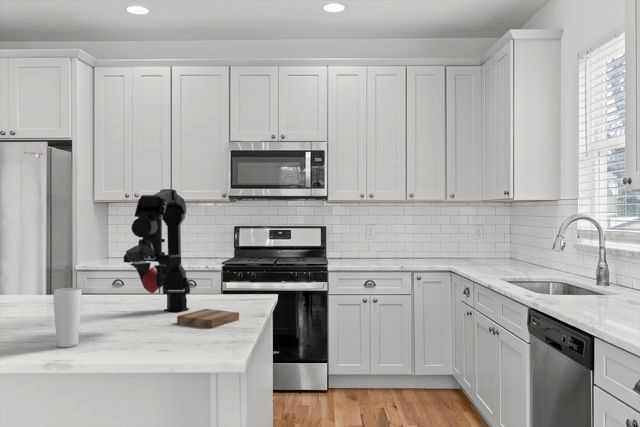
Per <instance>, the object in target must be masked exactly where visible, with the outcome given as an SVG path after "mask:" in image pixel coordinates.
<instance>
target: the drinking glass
mask: <svg viewBox="0 0 640 427" xmlns="http://www.w3.org/2000/svg"><path fill="white" fill-rule="evenodd" d="M82 296H83V295H82V288H80V287H65V288H64V287H63V288H57V289H54V290H53V300H52V302H53V315H54V324H55V336H56V337H55V338H56V341H55V342H56V346H57V347H58V348H61V349H62V348H72V347H75V346H77V345H78V344H79V342H80V327H81V315H82V314H81V313H82V305H83V304H82V302H83V300H82V298H83V297H82Z"/></svg>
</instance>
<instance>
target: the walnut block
mask: <svg viewBox="0 0 640 427" xmlns="http://www.w3.org/2000/svg"><path fill="white" fill-rule="evenodd" d="M176 316H177V317H176V320H177V321H176V324H177V325H182V326H183V325H184V326H191V327H197V328H199V327H200V328H207V329H215V328H218V327H220V326H224V324H225V325H228V324H230V323H234V322H237V321H239V320H240V312H237V311H230V310H221V309H220V310H219V309H209V308H204V309H200V310H197V311H193V312H188V313H184V314H180V315H176Z"/></svg>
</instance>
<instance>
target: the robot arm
mask: <svg viewBox="0 0 640 427" xmlns="http://www.w3.org/2000/svg"><path fill="white" fill-rule="evenodd" d="M186 214H187V205H186V201H185V199H184V198H183V197H182V196H181V195H179V194H178V192H177V190H176V189H173V188H172V189H171V188H169V189H168V188H167V189H165V188H163V189H160V190H159V192H156V193H154V194H142V195H141V196H140V197H139V199H138V200H137V205H136V209H135V213H134V217H135V219H134V220H133V222H132V223H131V232H132V233H133V235H134V236H135V237H138V238H139V240H138V245H135V246H133V247H131V248H129V249H128V250H126V251H125V254H124V255H123V263H129V265H130V266H132V267H133V268H134V269H136V271H137V274H138V276H139V278H140V281H141V283H142V279H143V276H144V275H145V274H146V273H147V272H148V271H149V270H150V269H151V264H152V263H151V262H155V263H158V264H156V265H155V264H154V265H153V267H154V268H155V269H156V270H155V271H157V284H158V288H159V289H160V288H162V294H163V295H166V308H164V309H163V312H172V313H179V312H184V311H188V310H190V308H189V307H187V306H188V304H187V302H188V299H187V298H188V297H187V295H188V294H191V286H190V281H189V278H188V277H187V271H186V270H185V268H184V267H183V265H182V242H181V241H182V240H181V239H182V238H181V237H182V236H181V234H182V233H181V226H182V223H183V222H184V220H185V218H186V216H185V215H186ZM163 223H164V224H165V226H167V228H166V230H167V231H166V232H167V233H166V234H167V254H166V252H165V251H164V252H163V243H165V241H166V240H165V239H166V238H163Z"/></svg>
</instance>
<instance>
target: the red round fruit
mask: <svg viewBox="0 0 640 427" xmlns="http://www.w3.org/2000/svg"><path fill="white" fill-rule="evenodd" d="M155 269H156V268H155V267H154V266H152V267H150V270H149V271H148V272H147V273H146V274H145V275H144V276H143V279H142V282H141V284H142V286H143V288H144V289H145V291H147V292H149V293H150V294H154V293H156V291H158V290H159V289H160V288H158V284H157V270H155Z"/></svg>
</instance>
